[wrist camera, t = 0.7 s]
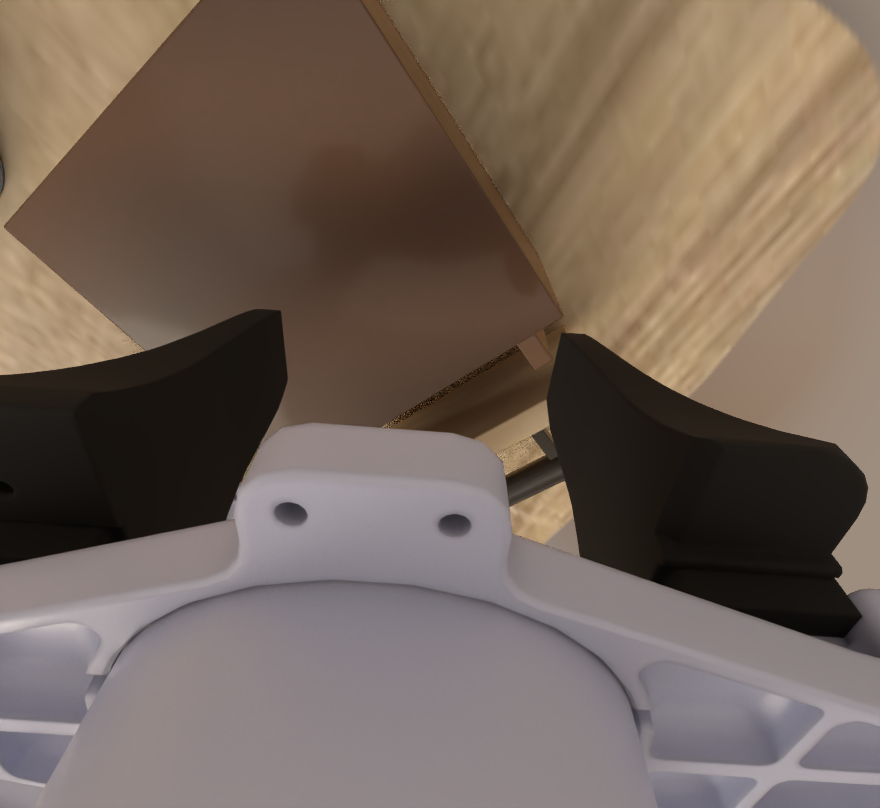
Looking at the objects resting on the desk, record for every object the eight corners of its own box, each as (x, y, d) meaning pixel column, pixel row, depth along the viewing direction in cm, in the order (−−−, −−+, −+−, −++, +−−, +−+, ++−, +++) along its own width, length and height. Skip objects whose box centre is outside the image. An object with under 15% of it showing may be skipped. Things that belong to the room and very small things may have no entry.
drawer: (616, 405, 25) (645, 468, 21) (431, 500, 29) (427, 568, 25) (425, 109, 18) (416, 122, 15) (218, 284, 22) (167, 332, 18)
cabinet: (538, 255, 22) (564, 317, 17) (326, 395, 26) (293, 480, 21) (345, -55, 17) (292, -109, 11) (117, 184, 21) (1, 227, 16)
